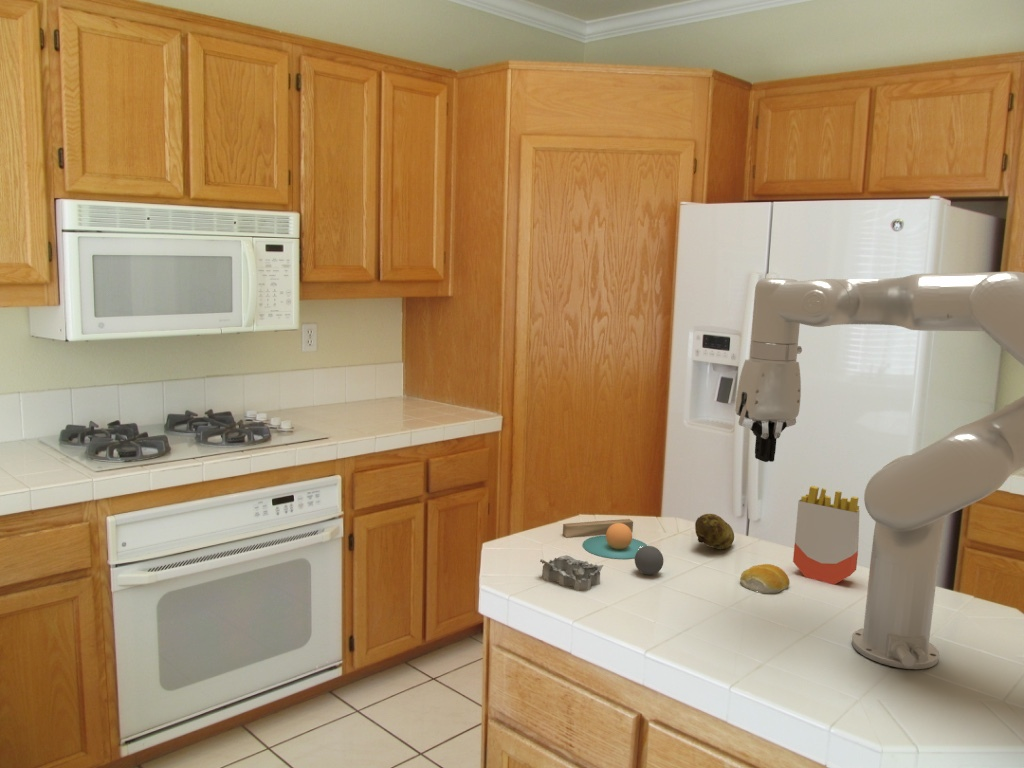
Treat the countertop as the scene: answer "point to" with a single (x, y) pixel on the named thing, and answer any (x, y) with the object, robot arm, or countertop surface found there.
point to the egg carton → (572, 572)
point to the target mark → (603, 549)
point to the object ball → (619, 536)
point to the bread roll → (765, 579)
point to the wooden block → (592, 527)
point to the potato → (714, 531)
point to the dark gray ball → (649, 560)
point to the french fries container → (826, 536)
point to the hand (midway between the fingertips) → (764, 459)
